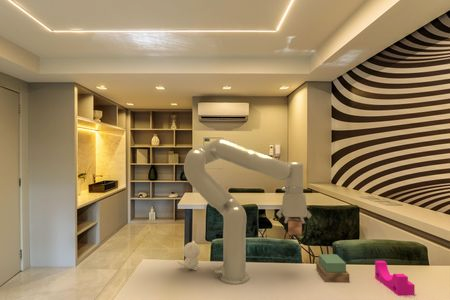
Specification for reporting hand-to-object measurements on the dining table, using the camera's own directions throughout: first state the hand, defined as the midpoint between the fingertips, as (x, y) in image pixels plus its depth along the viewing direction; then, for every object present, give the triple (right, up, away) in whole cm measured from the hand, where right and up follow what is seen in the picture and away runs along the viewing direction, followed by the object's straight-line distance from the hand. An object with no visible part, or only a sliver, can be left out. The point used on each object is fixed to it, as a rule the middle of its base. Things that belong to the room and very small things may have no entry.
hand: (293, 231), depth 121 cm
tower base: (+16, -19, -1) cm, 25 cm away
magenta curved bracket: (+37, -19, -10) cm, 43 cm away
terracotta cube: (0, -1, 0) cm, 1 cm away
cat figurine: (-47, -19, +7) cm, 51 cm away
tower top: (+16, -15, -1) cm, 22 cm away
